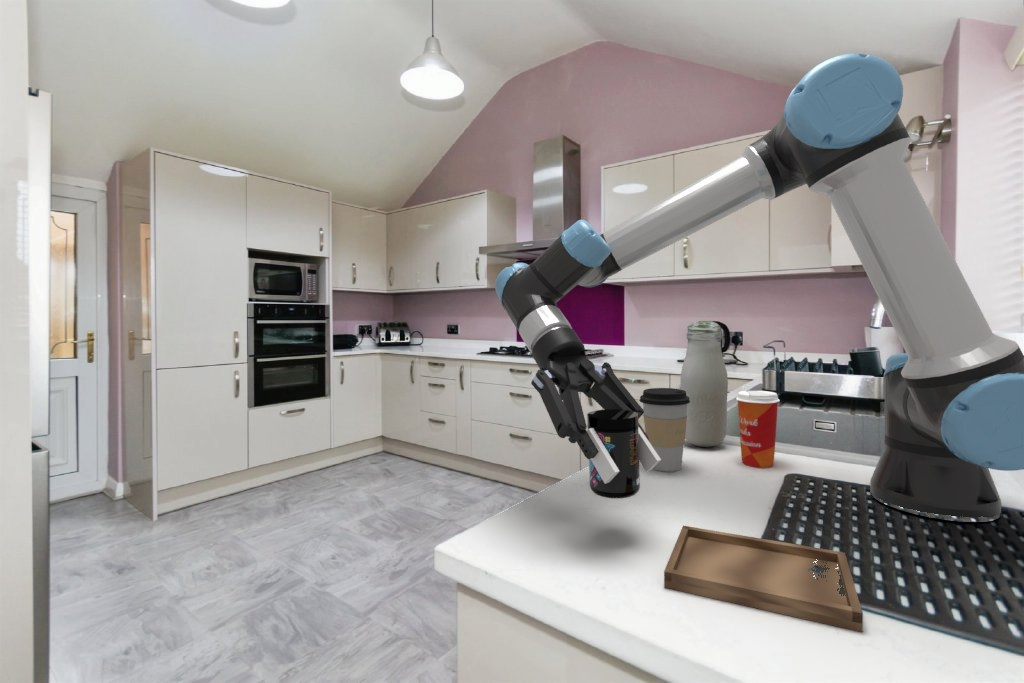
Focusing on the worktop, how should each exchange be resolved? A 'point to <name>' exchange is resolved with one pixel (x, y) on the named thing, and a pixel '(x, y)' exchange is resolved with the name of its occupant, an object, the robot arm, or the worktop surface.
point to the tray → (764, 576)
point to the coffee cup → (666, 424)
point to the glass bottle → (705, 385)
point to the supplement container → (617, 451)
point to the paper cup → (757, 427)
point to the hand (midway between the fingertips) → (633, 471)
